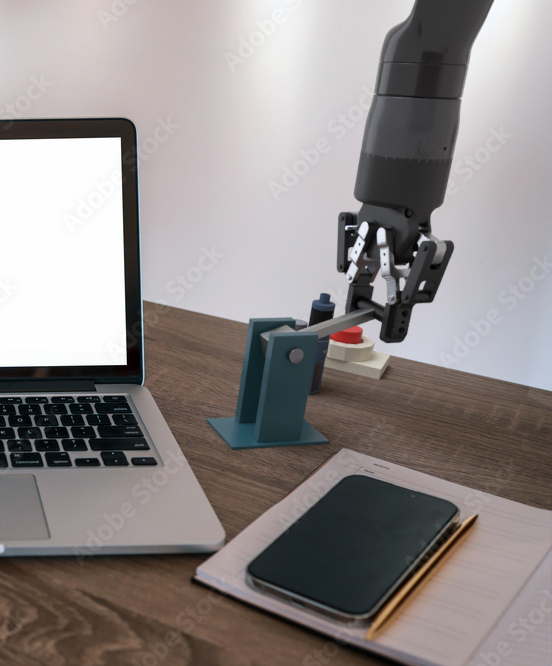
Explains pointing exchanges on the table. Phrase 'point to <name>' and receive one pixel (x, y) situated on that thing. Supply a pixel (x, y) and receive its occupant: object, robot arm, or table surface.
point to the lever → (336, 321)
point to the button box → (357, 358)
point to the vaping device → (320, 313)
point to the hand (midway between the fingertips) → (372, 330)
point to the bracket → (272, 390)
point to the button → (348, 335)
